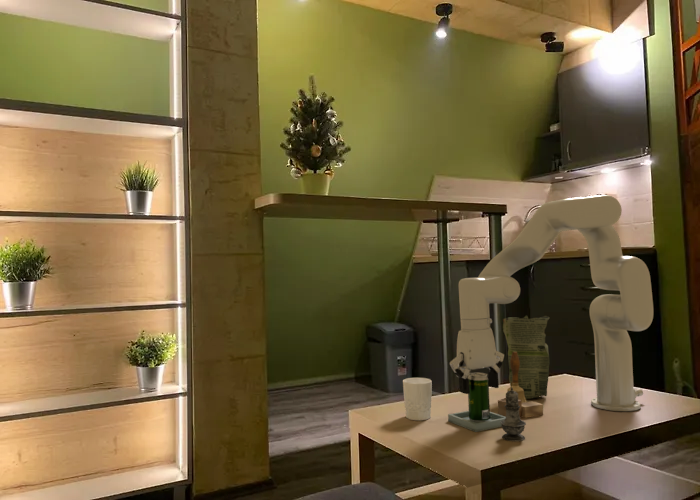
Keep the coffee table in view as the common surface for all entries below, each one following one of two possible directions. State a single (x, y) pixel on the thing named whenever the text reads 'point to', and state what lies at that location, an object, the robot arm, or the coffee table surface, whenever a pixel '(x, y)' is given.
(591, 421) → the coffee table surface
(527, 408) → the light oak block
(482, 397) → the green soda can
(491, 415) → the tray
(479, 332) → the robot arm
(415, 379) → the white cup
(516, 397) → the grey turned upright piece
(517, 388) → the hand bell
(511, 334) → the pouch
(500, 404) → the walnut cube
